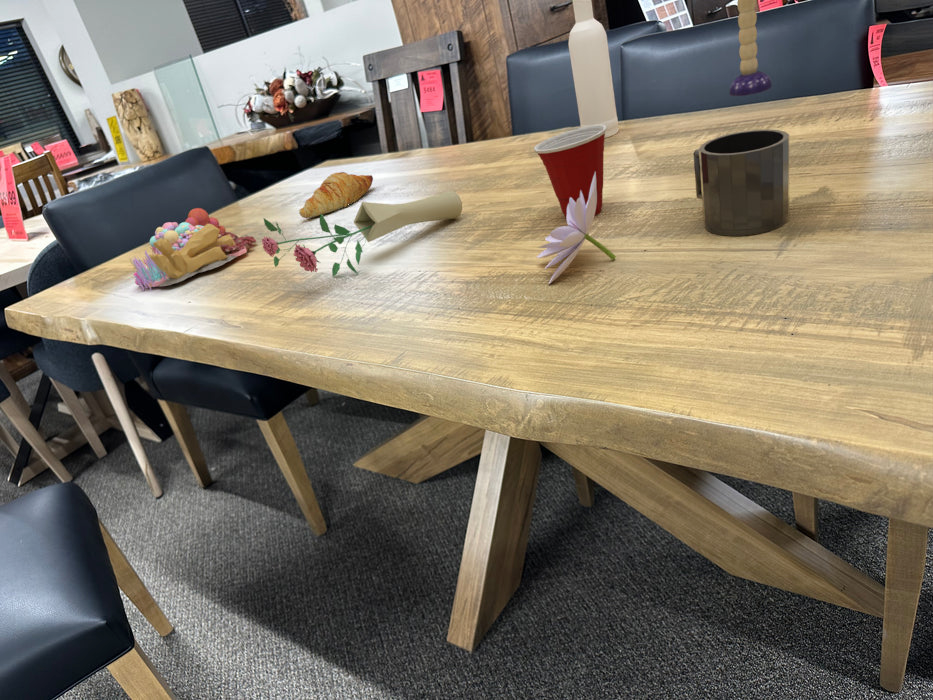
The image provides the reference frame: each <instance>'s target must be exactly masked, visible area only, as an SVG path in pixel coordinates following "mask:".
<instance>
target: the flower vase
mask: <svg viewBox="0 0 933 700" xmlns="http://www.w3.org/2000/svg"><path fill="white" fill-rule="evenodd" d="M462 211H463V201H462V199H461V196H460V195H459V194H458V193H457V192H456V191H455V190H447V191H444V192H441V193H438V194H435V195H432V196H429V197H425V198H421V199H417V200H414V201H410V202H404V203H396V204H395V203H394V204H391V203H379V202H367V201H362V202H361V204H360V206H359V208H358V211H357V213H356V215H355V218H354V221H353V223H354V225H355V226H356V228H357V230H356V231H354V232H351V231H350V230H349V229H347V228H346V227H343V226H341V225H338V224H334V226H333V228H334V232H335V234H332V233H331V230H330V227H329V224H328V222H327V220H326V218H325V216H324V214H322V213H321V215H319V226H320V229H321V231H322V232H325V233H329V234H330V235H324V236H315V237H305V238H296V239H289V240H287V239H286V237H285V235H284V231H283V229H281V228H280V226H279V223H278V222H275V225H276V226H275V225H274V224H273V223H272V222H271V221H269V220H268V219H266V218H264V217H263V223H264V226H265V227H266V229H267V230H269V232H278V234H279V235H281V236H282V237H283V238H284V240H285V241H280V242H278V241H276V239H273V238H271V237H270V236H263V238H261V241H262V242H261V243H262V248H263V249H264V252H265V253H266V254H268V255H269V257H271V258H273V265H274V267H275V268H276V267H278V266H279V263H280V260H281V259H282V258H283V257H285V254H283V255H282V256H281V257H280V258H279V257H278V256H277V255H276V254H280V251H281V248H280V247H279V245H282V244H287V243H292V242H295V243H294V244H293V245H292V246H291V247H290V248H286V249H284V251H290V250H291V249H293V248H294V246H295V248H294V250H293V252H294V253H293V257H295V261H296V262H298V263H299V267H301V268H303V270H304V271H306V272H311V273H318V270H319V268H317V266H318V265H317V263H319V264H321V261H319V259H318V258H317V257H316V254H317V252H319V251H321V250H323V249H324V248H327V247H328V249H329V250H330V251H331V252H332V253H335V254H336V253H337V251H338V249H339V247H338V246H337V244H338V245H342V244H343V242H344V241H345V239H346V238H348V240H347V243H346V246H344V247H342V249H344V251H343V254H342V258H341V261H340V263H338V262H334V263H333V265H332V268H331V274H332V277H335V276H336V275H337V274H338V272H339V271H340V270H341V269H340V268H341V264H342V262H343V259H344V256H345V253H347V251H346V249H347V246H348V243H349V242H350V240H351V238H352V237H353V235H356V234H358V233H361V235H362V236H363V238H361V239H360V240H359V239H357V241H356V242H357V243H356V245H355V247H354V249H355V251H356V252H355V261H356V262H357V263H356V264H357V265H360V261H361V257H362V256H361V255H362V253H363V247H364V246H365V245H366V242H367V243H370V242H372V241H375V240H377V239H379V238H381V237H383V236H385V235H388V234H390V233H392V232H394V231H397V230H399V229H401V228H403V227H405V226H408V225H413V224H420V223H427V222H435V221H436V222H437V221H446V220H456V219H457V218H459V217H460V216H461V214H462ZM455 218H456V219H455ZM325 238H332V240H333V241H330V242H328V243H326V244H324V245H322V246H320V247H318V248H316V249H315V250H311V249H310V248H309V247H306V246H305V244H302V245H303V246H301V244H297V243H298V242H300V241H307V240H308V241H309V240H318V239H325ZM363 239H365V243H364V244H363V245H361V243H360V242H361V241H362V240H363ZM336 243H337V244H336ZM346 256H347V260H346V265H347V267H348V268H349V269H350V270H351V271H352V272H353V273H355V274H357V275H359V273H358V270H356V268H355V267H354V265H353V264H352V263H351V260H350V259H349V256H348V254H346Z"/></svg>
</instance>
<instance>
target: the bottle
mask: <svg viewBox="0 0 933 700" xmlns="http://www.w3.org/2000/svg"><path fill="white" fill-rule="evenodd" d="M572 7H573V13H574V20H575V23H574V24H573V27H572V28H571V30H570V32H569V36H568V51H569V57H570V63H571V71H572V77H573V84H574V89H575V90H574V91H575V97H576V103H577V104H576V105H577V110H578V117H579V123H580V125H579V126H580V127H579V128H582V127H587V126H592V125H604V126H607V127H606V132H605V136H604V139H607V138H610V137H613V136H615V135H617V134H618V132H619V130H620V129H619V120H618V115H617V114H618V113H617V107H616V98H615V92H614V84H613V77H612V76H613V75H612V68H611V67H612V66H611V59H610V52H609V51H610V50H609V44H608V43H609V42H608V36H607V32H606V30H605V28H604V25H603V24H602V23H601V22H599V20H597V19H595V18H594V11H593V3H592V0H572Z"/></svg>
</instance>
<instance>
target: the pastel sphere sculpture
mask: <svg viewBox="0 0 933 700" xmlns="http://www.w3.org/2000/svg"><path fill="white" fill-rule="evenodd" d="M256 243H257V240H256V238H255V237H254V236H250V235H246V236H242V235H238V234H237V235H236V234H235V233H233V232H232V231H231V232H230V231H226V228H225V226H223V225H220V221H219V220H218V219H217V218H216V217H213V216H211V217H210V216H209V213H208V212H207V211H206V210H205V209H203V208H201V207H195V208H192V209H191V210H190V211H189V212H188V215H187V218H186V219H185V221H183V222H181V223H179V224H178V222H177V221H173V222H170V221H167V222H165V223H163V225H162V226H158V227H157V228H156V229H155V231H154V235H153V236H151V237H150V239H149V245H150V246H149V249H150V250H152V252H151V254H148V252H147V250H146V249H145V250H144V255H145V256H144V257H145V258H144V257H143V258H142V259H143V261H142V259H140V258H139V257H136V256H133V258H130V257H129V262H130V264H131V265H132V267H133V269H134V270H135V272H134V273H133V276H134V277H133V278H134V280H135V282H134V283H135V285H136V286H138V288H141V290H142V291H144V290H145V288H146V289H149V290H150V291H152V288H155V287H159V288H160V287H166V286H172V285H173V284H178V283H181V282H183V281H185V280H187V279H188V278H191V277H192V276H193V277H194V276H195V275H196V274H199V273H203V272H204V273H205V272H206V271H210V270H213V269H216V268H218V267H221V266H223V265H225V264H226V263H228V262H231V261H232V260H234V259H235V258H238V257H239V256H242V255H244V254H246V253H248V249H252V248H255V247H256V245H254V244H256Z"/></svg>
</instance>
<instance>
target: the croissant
mask: <svg viewBox="0 0 933 700" xmlns="http://www.w3.org/2000/svg"><path fill="white" fill-rule="evenodd" d="M373 181H374V177H373V175H371V174H367V175H365V174H360V175H359V174H358V175H357V174H352V173H351V174H349V173H347V172H345V171H341V172H334V173H331V174H330V175H328V176H327V177H326V178H325V179H324V180H323V181H322V182H321V184H320V186H319V187H317V188H316V189H315V190H314V191H313V194H312V195H311V197H309V198H308V199H306V201H305V202H304V204H303V205H304V206H303V207H301V208H300V209H299V211H298V212H299V213H298V214H299V216H300V217H302V218H303V219H309V218H314V217H318V216H321V213H322V215H325V214H328V213H332V212H335V211H338V210H341V209H340V208H342V209H344V208H346V207H348V206H349V205H348V204H351V203H353V202H354V203H356V202H357V201H358V200H359V199H361V197H363V196H364V195H365V194H367V192H369V190H370V189H371V187H372V184H373ZM354 203H353V204H354ZM347 205H348V206H347ZM351 205H352V204H351ZM343 207H344V208H343ZM337 209H338V210H337Z"/></svg>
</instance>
